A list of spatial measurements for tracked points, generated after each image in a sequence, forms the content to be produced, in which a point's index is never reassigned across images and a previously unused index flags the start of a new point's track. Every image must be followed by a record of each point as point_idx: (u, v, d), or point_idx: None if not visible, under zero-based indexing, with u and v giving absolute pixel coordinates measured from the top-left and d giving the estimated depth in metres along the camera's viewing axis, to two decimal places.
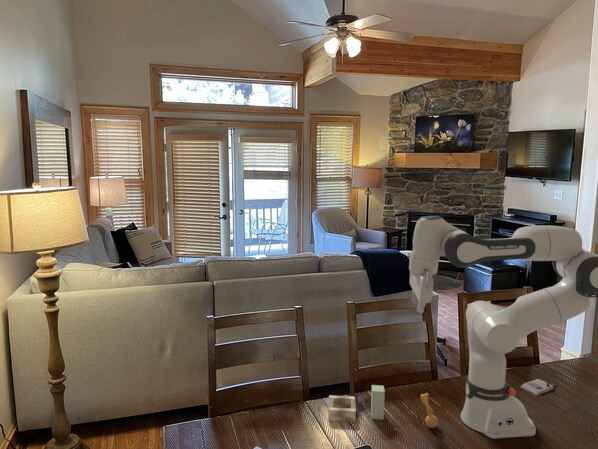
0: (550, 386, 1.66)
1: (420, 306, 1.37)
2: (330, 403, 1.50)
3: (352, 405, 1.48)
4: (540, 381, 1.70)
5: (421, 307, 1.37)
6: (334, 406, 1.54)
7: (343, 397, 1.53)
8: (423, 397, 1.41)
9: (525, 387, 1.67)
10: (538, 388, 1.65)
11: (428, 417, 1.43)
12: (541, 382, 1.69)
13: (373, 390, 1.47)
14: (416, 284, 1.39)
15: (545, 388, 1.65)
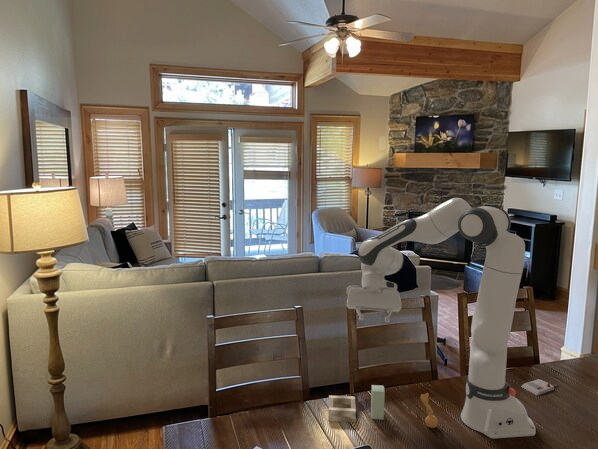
0: (551, 386, 1.66)
1: (358, 314, 1.63)
2: (330, 403, 1.50)
3: (352, 405, 1.48)
4: (541, 381, 1.70)
5: (359, 314, 1.62)
6: (334, 406, 1.54)
7: (343, 397, 1.53)
8: (423, 397, 1.41)
9: (525, 387, 1.67)
10: (538, 388, 1.65)
11: (428, 417, 1.43)
12: (542, 382, 1.69)
13: (373, 390, 1.47)
14: None
15: (545, 388, 1.65)
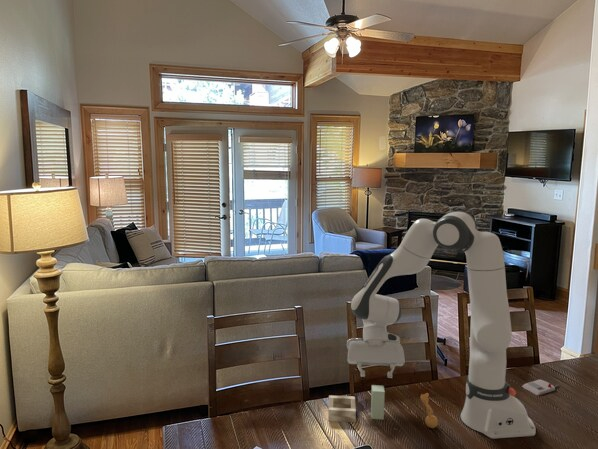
0: (552, 387, 1.66)
1: (359, 370, 1.56)
2: (330, 403, 1.50)
3: (352, 405, 1.48)
4: (542, 381, 1.69)
5: (360, 370, 1.56)
6: (334, 406, 1.54)
7: (343, 397, 1.53)
8: (423, 397, 1.41)
9: (526, 387, 1.67)
10: (539, 388, 1.65)
11: (428, 417, 1.43)
12: (543, 382, 1.69)
13: (373, 390, 1.47)
14: None
15: (546, 389, 1.65)
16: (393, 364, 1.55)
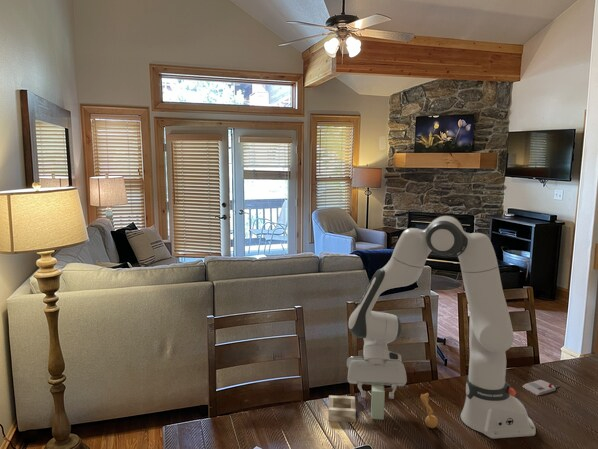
0: (552, 387, 1.66)
1: (360, 390, 1.51)
2: (330, 403, 1.50)
3: (352, 405, 1.48)
4: (543, 382, 1.69)
5: (360, 391, 1.51)
6: (334, 406, 1.54)
7: (343, 397, 1.53)
8: (423, 397, 1.41)
9: (526, 387, 1.67)
10: (540, 388, 1.65)
11: (428, 417, 1.43)
12: (544, 383, 1.69)
13: (373, 390, 1.47)
14: None
15: (547, 389, 1.64)
16: (395, 384, 1.50)
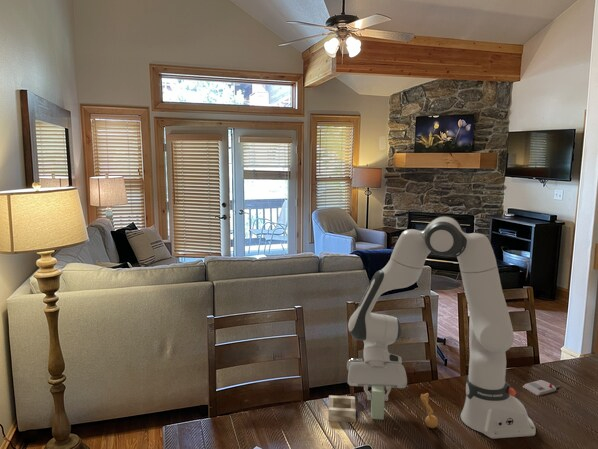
0: (553, 387, 1.66)
1: (366, 393, 1.50)
2: (330, 403, 1.50)
3: (352, 405, 1.48)
4: (543, 382, 1.69)
5: (366, 393, 1.50)
6: (334, 406, 1.54)
7: (343, 397, 1.53)
8: (423, 397, 1.41)
9: (527, 387, 1.67)
10: (540, 388, 1.64)
11: (428, 417, 1.43)
12: (544, 383, 1.69)
13: (373, 390, 1.47)
14: None
15: (547, 389, 1.64)
16: (389, 386, 1.50)
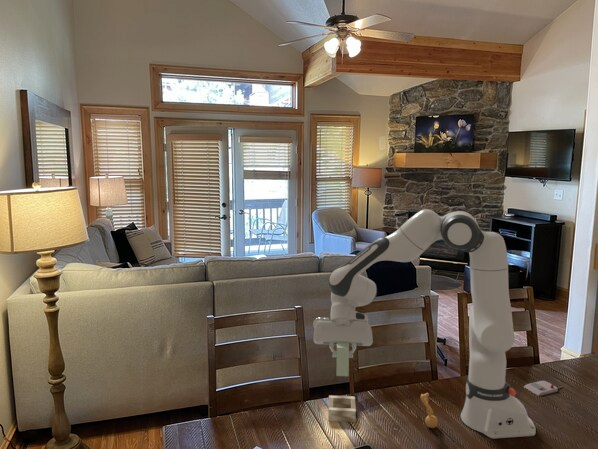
0: (554, 388, 1.65)
1: (331, 350, 1.49)
2: (330, 403, 1.50)
3: (352, 405, 1.48)
4: (545, 383, 1.69)
5: (332, 351, 1.49)
6: (334, 406, 1.54)
7: (343, 397, 1.53)
8: (423, 397, 1.41)
9: (528, 387, 1.67)
10: (541, 389, 1.64)
11: (428, 417, 1.43)
12: (546, 383, 1.68)
13: (338, 346, 1.46)
14: None
15: (548, 389, 1.64)
16: (354, 343, 1.49)
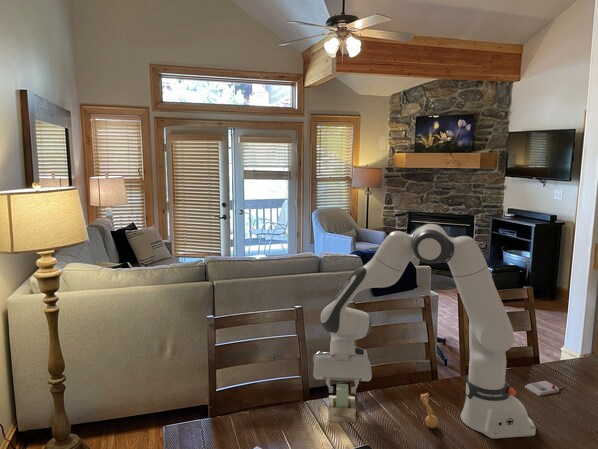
0: (556, 388, 1.65)
1: (328, 385, 1.51)
2: (330, 403, 1.50)
3: (352, 405, 1.48)
4: (546, 383, 1.69)
5: (328, 386, 1.51)
6: (334, 406, 1.54)
7: None
8: (423, 397, 1.41)
9: (529, 387, 1.67)
10: (542, 389, 1.64)
11: (428, 417, 1.43)
12: (548, 384, 1.68)
13: (337, 388, 1.48)
14: None
15: (549, 390, 1.64)
16: (357, 379, 1.50)
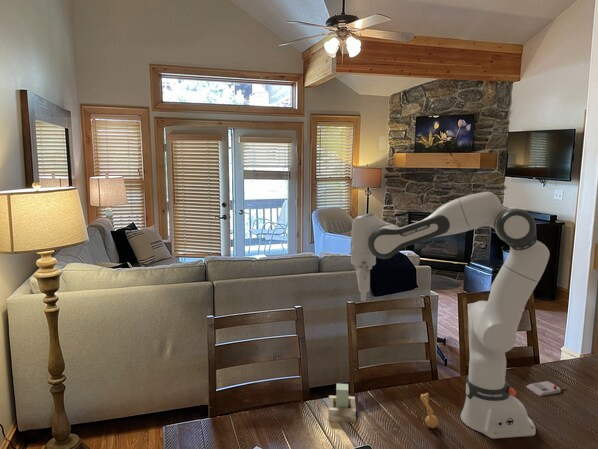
0: (557, 389, 1.64)
1: (362, 295, 1.53)
2: (330, 403, 1.50)
3: (352, 405, 1.48)
4: (548, 383, 1.68)
5: (363, 296, 1.53)
6: (334, 406, 1.54)
7: None
8: (423, 397, 1.41)
9: (530, 387, 1.66)
10: (543, 389, 1.64)
11: (428, 417, 1.43)
12: (549, 384, 1.68)
13: (337, 388, 1.48)
14: (358, 276, 1.56)
15: (551, 390, 1.64)
16: None
